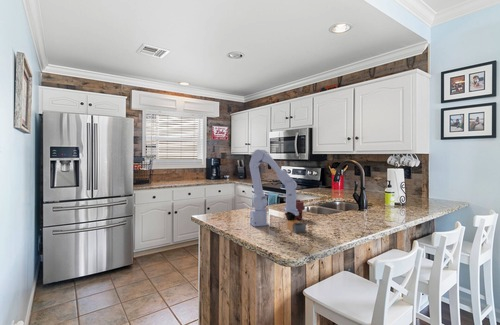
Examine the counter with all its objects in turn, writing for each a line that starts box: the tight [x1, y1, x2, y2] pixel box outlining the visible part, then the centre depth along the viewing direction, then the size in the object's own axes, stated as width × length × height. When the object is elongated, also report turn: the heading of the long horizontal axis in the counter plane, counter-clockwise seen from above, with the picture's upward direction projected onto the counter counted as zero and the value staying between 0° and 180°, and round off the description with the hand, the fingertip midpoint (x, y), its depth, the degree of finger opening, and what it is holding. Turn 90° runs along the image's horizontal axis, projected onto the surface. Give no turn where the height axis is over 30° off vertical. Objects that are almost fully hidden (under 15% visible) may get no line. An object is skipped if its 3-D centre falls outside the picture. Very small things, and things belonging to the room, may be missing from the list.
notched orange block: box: [286, 220, 303, 232], centre depth 149 cm, size 6×6×4 cm
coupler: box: [292, 221, 307, 234], centre depth 147 cm, size 6×10×5 cm, turn 19°
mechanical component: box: [294, 199, 306, 221], centre depth 173 cm, size 12×10×10 cm
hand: (290, 225), depth 153 cm, fingers closed
